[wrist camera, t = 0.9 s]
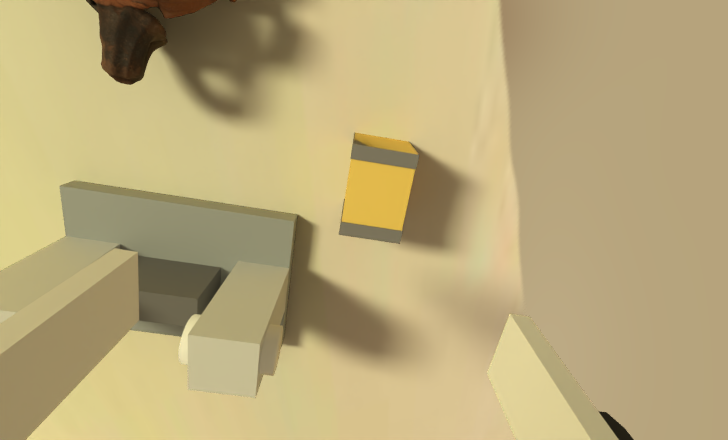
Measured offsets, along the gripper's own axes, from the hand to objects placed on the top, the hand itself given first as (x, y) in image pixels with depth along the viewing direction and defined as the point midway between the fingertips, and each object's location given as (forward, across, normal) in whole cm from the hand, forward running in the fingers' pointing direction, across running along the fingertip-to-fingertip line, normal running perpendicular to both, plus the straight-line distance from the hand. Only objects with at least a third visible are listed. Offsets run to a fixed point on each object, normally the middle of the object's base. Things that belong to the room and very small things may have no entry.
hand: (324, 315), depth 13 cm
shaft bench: (+16, -12, -9) cm, 22 cm away
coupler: (+16, +2, +2) cm, 17 cm away
